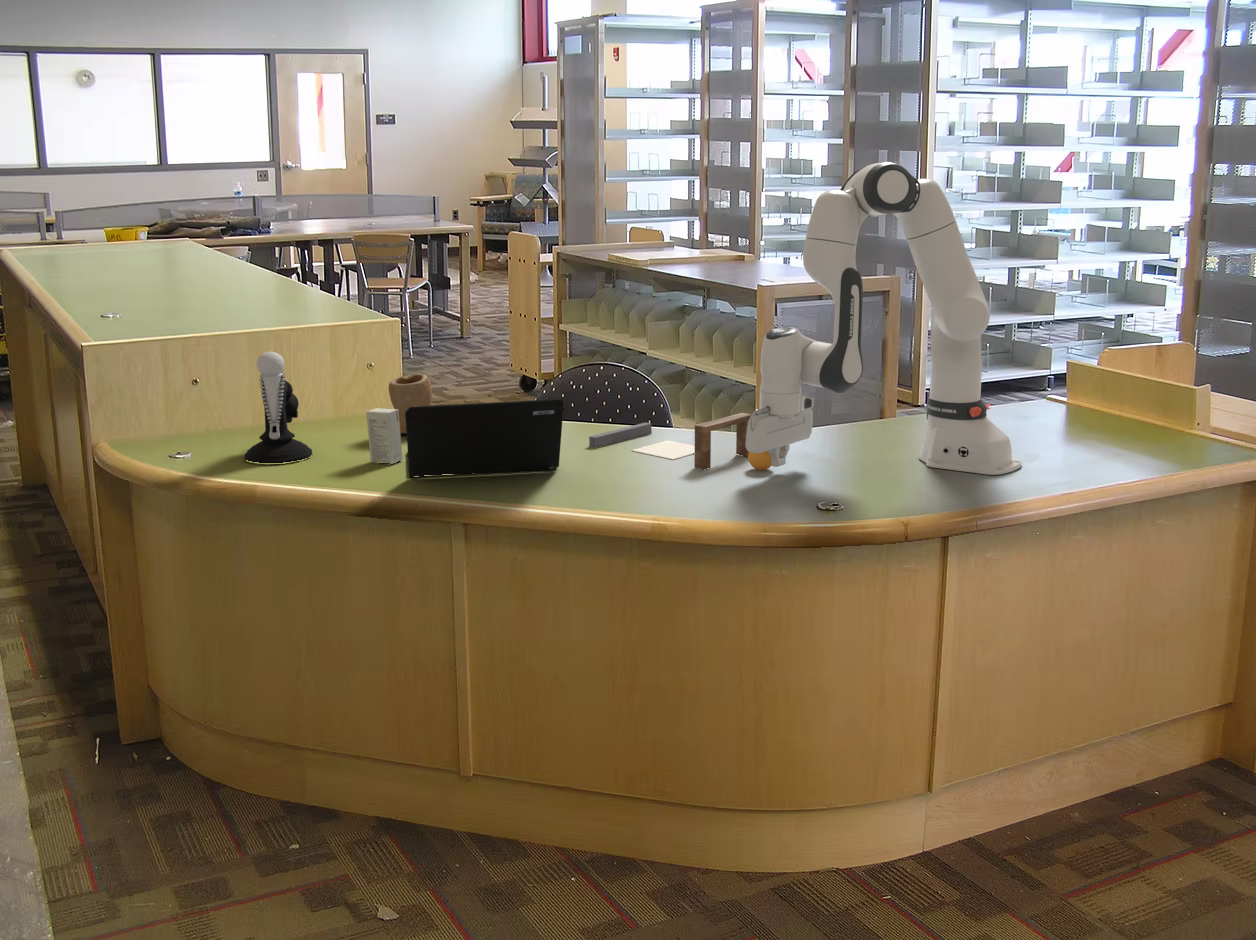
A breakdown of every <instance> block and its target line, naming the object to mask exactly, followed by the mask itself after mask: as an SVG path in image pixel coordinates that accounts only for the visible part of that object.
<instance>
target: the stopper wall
mask: <svg viewBox="0 0 1256 940" xmlns="http://www.w3.org/2000/svg"><path fill="white" fill-rule="evenodd" d="M652 425H653V424H652V423H650V422H645V421H644V422H642V423H638V424H634V425H629V426H626V427H622V428H619V429H615V430H610V431H605V432H601V433H598V434H593V435H590V436H589V437H588V439H589V443H588V445H589V448H595V449H596V448H600V447H604V446H608V445H613V444H616V443H620V442H624V441H627V440H632V439H634V438H635V439H636V438H639V437H642V436H648V435H651V434H652V431H653V430H652Z"/></svg>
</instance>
